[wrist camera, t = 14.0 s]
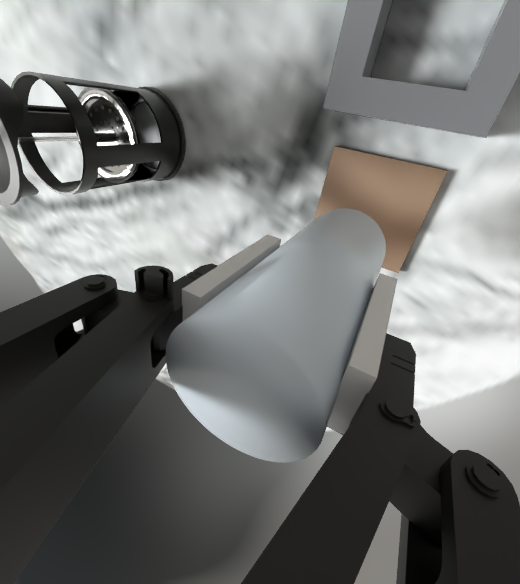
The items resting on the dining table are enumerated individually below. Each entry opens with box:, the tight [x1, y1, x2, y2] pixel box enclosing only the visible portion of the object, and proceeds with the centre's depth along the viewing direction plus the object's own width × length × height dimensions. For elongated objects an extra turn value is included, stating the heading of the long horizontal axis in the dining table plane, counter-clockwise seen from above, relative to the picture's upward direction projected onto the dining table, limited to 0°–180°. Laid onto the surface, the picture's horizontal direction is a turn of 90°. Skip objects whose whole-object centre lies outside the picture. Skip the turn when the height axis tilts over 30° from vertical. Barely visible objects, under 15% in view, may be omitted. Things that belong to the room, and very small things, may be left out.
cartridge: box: [166, 208, 386, 462], centre depth 13 cm, size 5×5×13 cm
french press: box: [0, 72, 185, 206], centre depth 24 cm, size 12×9×23 cm
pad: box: [315, 146, 447, 273], centre depth 26 cm, size 9×9×1 cm
